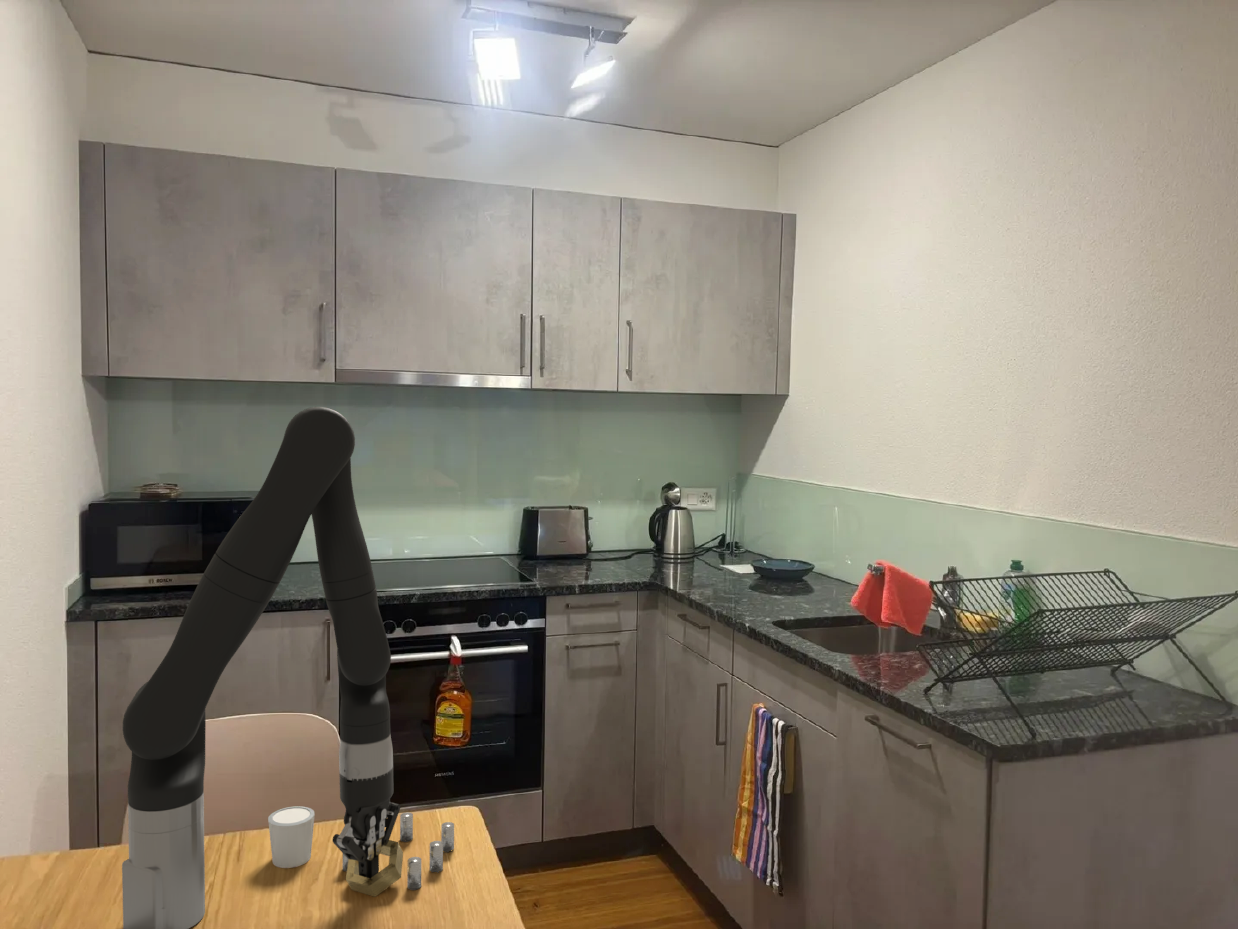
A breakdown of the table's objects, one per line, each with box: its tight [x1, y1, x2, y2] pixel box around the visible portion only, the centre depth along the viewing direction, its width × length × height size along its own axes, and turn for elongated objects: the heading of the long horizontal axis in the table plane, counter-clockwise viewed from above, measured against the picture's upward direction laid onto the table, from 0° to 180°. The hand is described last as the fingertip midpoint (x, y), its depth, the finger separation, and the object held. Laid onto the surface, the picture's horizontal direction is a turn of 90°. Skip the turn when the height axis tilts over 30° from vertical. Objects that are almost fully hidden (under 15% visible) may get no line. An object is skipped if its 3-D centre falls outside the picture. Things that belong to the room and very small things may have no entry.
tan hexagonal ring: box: [345, 839, 404, 897], centre depth 135 cm, size 7×9×2 cm
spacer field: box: [342, 811, 455, 891], centre depth 142 cm, size 14×14×4 cm
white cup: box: [267, 805, 316, 869], centre depth 142 cm, size 7×7×7 cm
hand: (369, 880), depth 134 cm, fingers closed
